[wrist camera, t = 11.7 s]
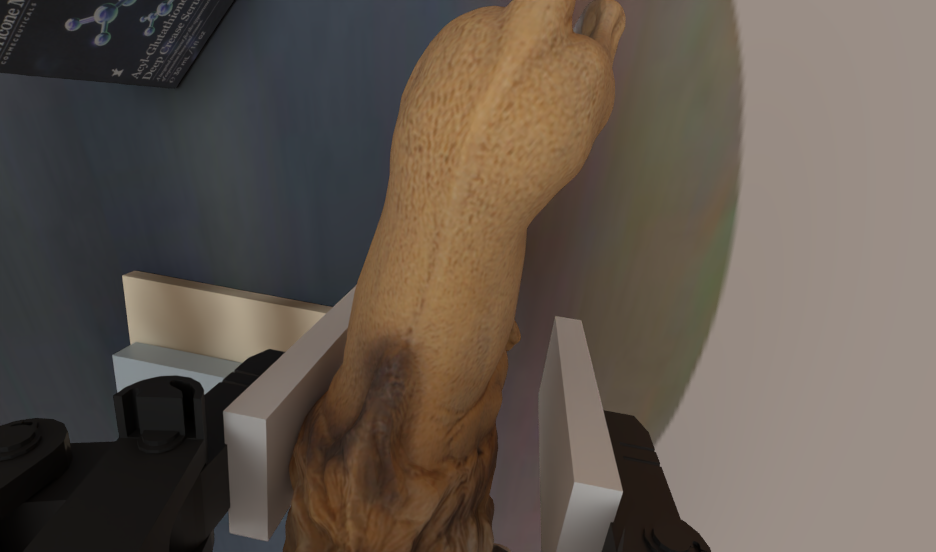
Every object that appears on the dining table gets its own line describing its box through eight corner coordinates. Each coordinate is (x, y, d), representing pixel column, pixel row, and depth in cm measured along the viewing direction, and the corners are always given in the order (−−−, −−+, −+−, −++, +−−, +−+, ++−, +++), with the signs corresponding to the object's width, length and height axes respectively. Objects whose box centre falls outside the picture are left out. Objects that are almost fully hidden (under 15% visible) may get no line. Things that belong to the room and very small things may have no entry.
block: (137, 341, 30) (148, 441, 33) (112, 355, 28) (126, 460, 31) (253, 364, 29) (255, 465, 32) (235, 380, 28) (239, 485, 30)
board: (155, 448, 34) (144, 457, 33) (135, 270, 30) (122, 275, 29) (419, 506, 33) (415, 517, 32) (442, 327, 28) (439, 334, 27)
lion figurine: (538, 455, 15) (524, 868, 7) (382, 423, 16) (196, 765, 7) (645, -77, 10) (1072, -932, 2) (414, -93, 11) (-32, -792, 3)
